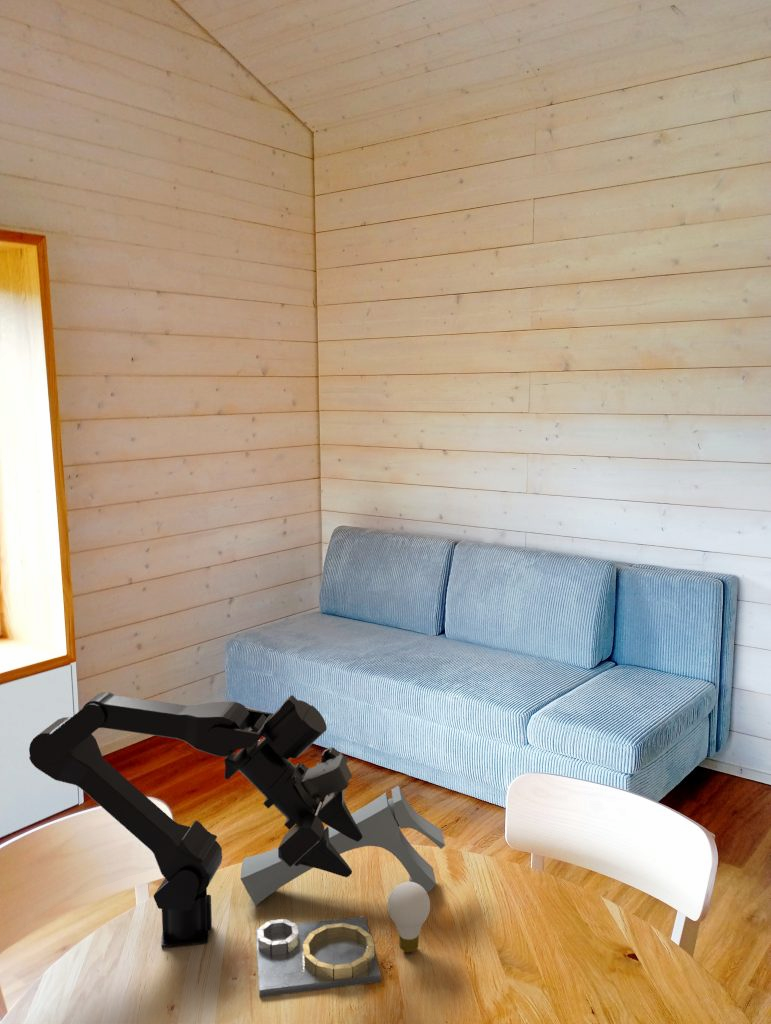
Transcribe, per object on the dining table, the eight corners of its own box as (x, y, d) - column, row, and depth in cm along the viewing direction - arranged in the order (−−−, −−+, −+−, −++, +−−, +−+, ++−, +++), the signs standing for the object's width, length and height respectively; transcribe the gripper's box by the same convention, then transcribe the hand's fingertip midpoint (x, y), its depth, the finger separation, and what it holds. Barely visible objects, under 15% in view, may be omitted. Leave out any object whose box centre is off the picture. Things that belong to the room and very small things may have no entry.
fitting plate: (259, 997, 111) (259, 979, 110) (255, 935, 123) (255, 919, 123) (380, 981, 114) (380, 964, 113) (365, 922, 126) (364, 906, 126)
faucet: (288, 966, 132) (463, 881, 132) (239, 877, 129) (417, 791, 129) (290, 940, 138) (457, 859, 138) (243, 855, 135) (413, 773, 135)
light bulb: (438, 950, 120) (438, 884, 119) (410, 970, 116) (410, 902, 114) (406, 932, 124) (407, 868, 123) (379, 951, 120) (379, 885, 118)
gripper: (300, 770, 108) (387, 856, 108) (328, 715, 127) (402, 789, 127) (242, 824, 110) (327, 909, 110) (278, 763, 129) (351, 835, 129)
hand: (355, 856), depth 119 cm, fingers open, 9 cm apart
